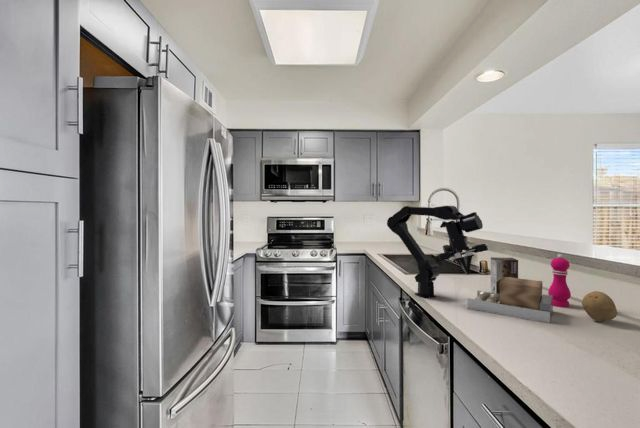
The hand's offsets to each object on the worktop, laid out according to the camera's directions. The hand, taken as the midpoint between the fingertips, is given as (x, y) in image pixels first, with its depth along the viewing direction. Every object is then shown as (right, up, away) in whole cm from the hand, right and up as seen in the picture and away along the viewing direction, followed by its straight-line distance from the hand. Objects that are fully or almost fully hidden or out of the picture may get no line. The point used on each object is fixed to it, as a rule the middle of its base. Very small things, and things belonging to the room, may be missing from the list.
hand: (468, 274), depth 131 cm
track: (+12, -12, -6) cm, 18 cm away
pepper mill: (+36, -12, 0) cm, 38 cm away
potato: (+36, -13, -18) cm, 42 cm away
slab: (+15, -9, -9) cm, 20 cm away
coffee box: (+22, -12, +14) cm, 28 cm away
